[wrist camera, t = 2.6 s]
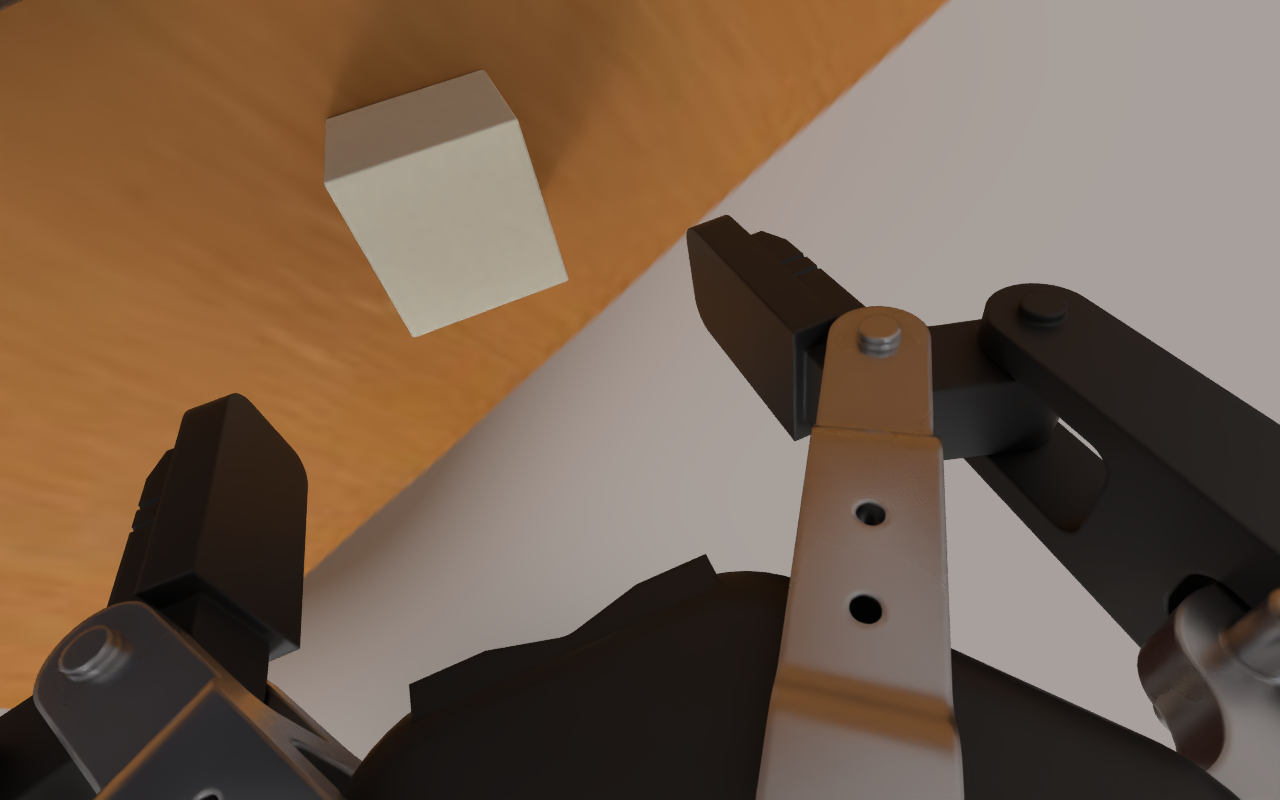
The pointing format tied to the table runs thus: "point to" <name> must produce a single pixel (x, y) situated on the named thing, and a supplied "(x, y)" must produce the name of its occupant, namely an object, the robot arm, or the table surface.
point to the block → (443, 201)
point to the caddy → (7, 3)
